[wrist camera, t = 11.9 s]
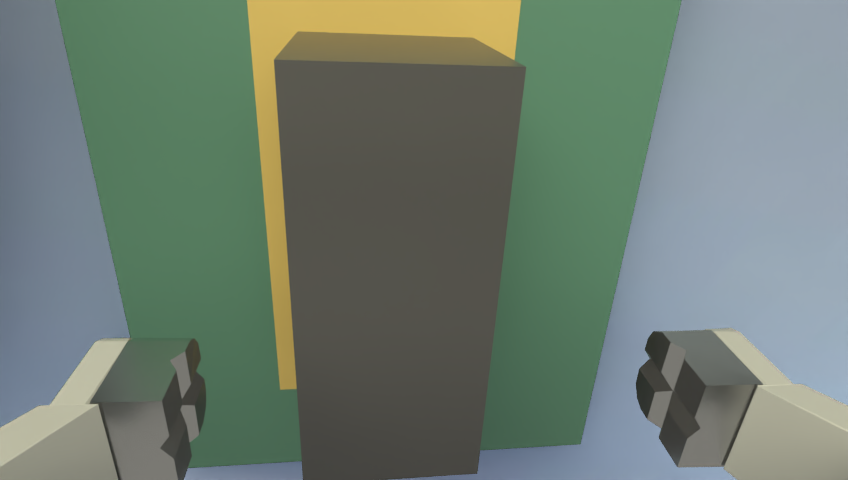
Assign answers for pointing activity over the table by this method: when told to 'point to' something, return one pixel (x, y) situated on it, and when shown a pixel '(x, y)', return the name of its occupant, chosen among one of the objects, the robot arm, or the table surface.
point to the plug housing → (394, 244)
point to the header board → (264, 205)
